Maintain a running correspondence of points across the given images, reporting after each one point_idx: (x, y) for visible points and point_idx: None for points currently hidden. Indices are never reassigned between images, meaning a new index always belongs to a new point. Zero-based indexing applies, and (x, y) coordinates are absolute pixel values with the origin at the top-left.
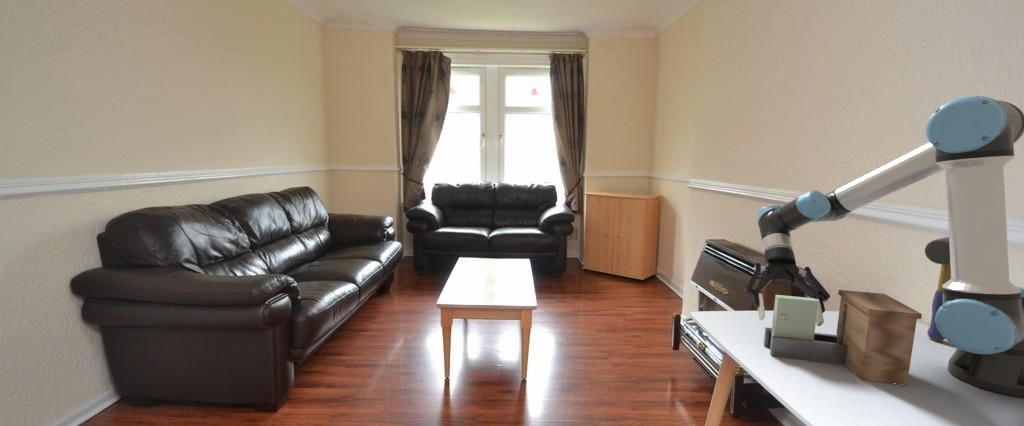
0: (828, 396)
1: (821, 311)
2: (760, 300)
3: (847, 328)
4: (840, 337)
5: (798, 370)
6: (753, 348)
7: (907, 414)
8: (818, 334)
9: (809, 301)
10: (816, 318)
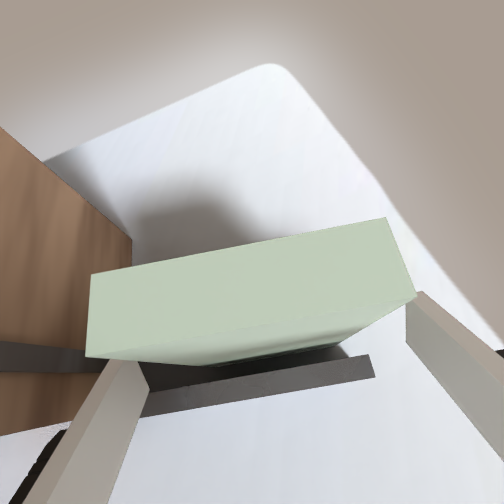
0: (227, 132)
1: (86, 401)
2: (502, 361)
3: (43, 314)
4: (86, 360)
5: (265, 220)
6: (386, 320)
7: (113, 136)
8: (156, 394)
9: (155, 267)
10: (133, 410)
